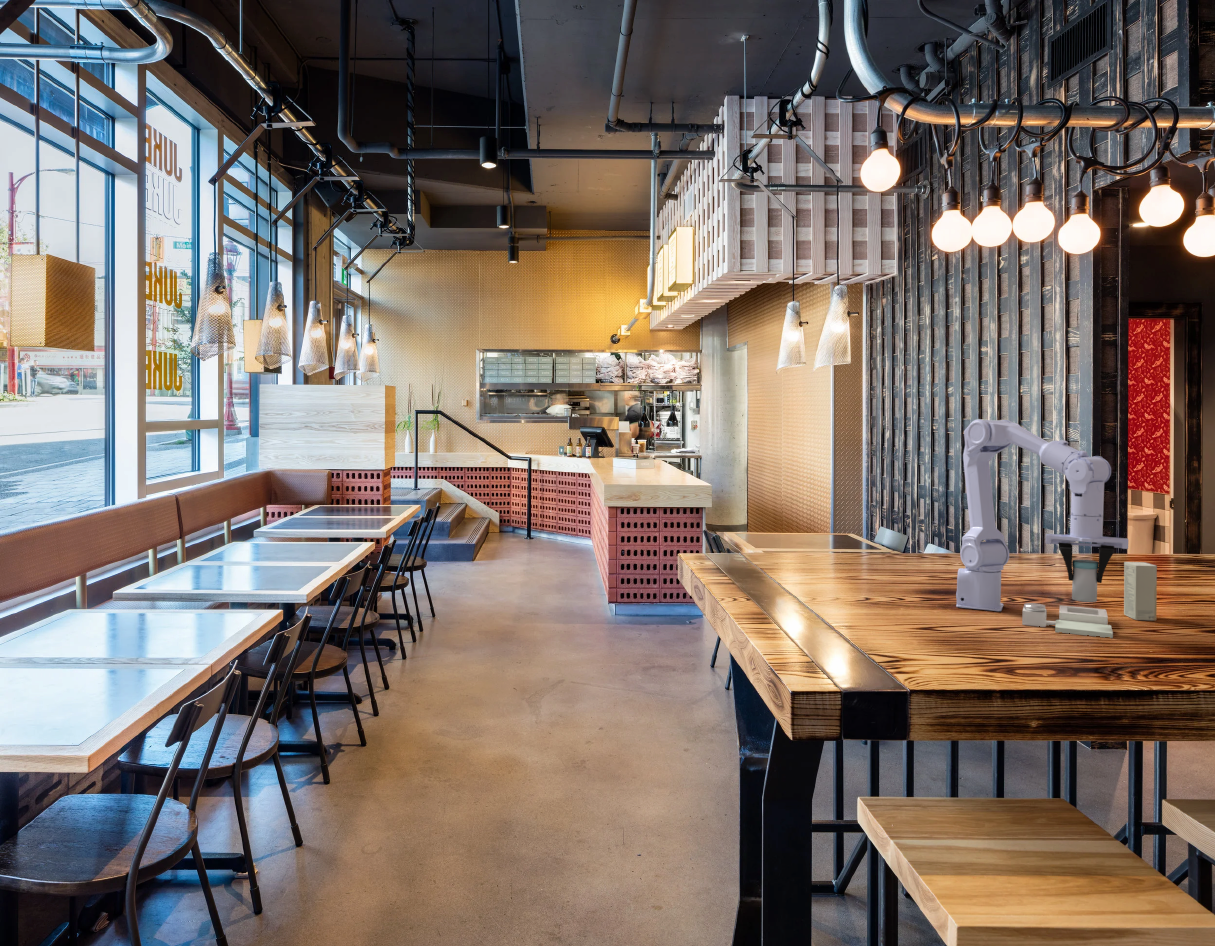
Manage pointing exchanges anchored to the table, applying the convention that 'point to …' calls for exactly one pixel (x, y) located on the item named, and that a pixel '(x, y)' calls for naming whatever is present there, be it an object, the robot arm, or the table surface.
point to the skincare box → (1140, 590)
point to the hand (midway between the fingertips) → (1084, 581)
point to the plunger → (1034, 607)
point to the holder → (1066, 616)
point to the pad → (1083, 628)
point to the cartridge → (1084, 580)
